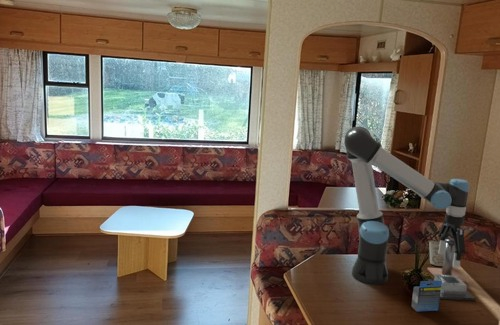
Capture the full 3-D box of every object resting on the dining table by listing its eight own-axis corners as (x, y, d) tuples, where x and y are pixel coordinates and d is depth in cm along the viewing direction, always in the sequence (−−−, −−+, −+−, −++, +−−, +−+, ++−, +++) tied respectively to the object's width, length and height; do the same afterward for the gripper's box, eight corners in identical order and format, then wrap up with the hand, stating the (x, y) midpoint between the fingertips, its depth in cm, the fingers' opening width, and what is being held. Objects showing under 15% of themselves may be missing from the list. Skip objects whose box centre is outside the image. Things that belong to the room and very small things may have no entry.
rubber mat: (438, 280, 178) (439, 279, 178) (427, 268, 190) (427, 267, 190) (466, 282, 178) (466, 280, 178) (453, 270, 190) (453, 268, 190)
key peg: (454, 276, 181) (459, 242, 178) (443, 276, 181) (448, 241, 178) (449, 271, 186) (454, 238, 183) (438, 271, 186) (443, 237, 183)
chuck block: (439, 298, 162) (441, 287, 161) (424, 282, 176) (426, 271, 175) (474, 300, 162) (476, 288, 161) (457, 283, 176) (458, 272, 175)
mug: (425, 264, 194) (427, 243, 193) (431, 258, 204) (432, 238, 203) (444, 268, 189) (446, 247, 188) (449, 261, 199) (451, 241, 199)
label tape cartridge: (432, 305, 157) (436, 275, 154) (438, 311, 153) (442, 280, 151) (410, 306, 155) (414, 276, 153) (416, 312, 151) (420, 281, 149)
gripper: (479, 224, 166) (471, 273, 170) (450, 206, 191) (443, 249, 195) (461, 223, 166) (453, 272, 170) (434, 205, 191) (428, 248, 195)
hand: (448, 260), depth 182 cm, fingers open, 13 cm apart
